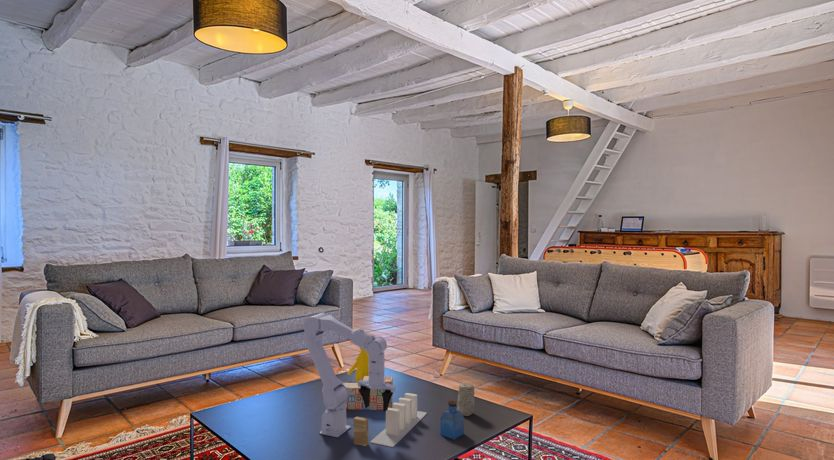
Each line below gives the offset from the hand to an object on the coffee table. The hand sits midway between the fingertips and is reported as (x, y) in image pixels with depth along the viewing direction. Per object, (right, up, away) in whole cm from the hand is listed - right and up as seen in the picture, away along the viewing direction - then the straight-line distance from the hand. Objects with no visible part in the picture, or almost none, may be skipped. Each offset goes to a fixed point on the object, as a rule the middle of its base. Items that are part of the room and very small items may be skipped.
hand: (376, 408), depth 174 cm
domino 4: (+12, -10, +17) cm, 23 cm away
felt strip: (+9, -10, +8) cm, 15 cm away
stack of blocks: (-6, -10, +27) cm, 30 cm away
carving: (+35, -10, +21) cm, 42 cm away
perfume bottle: (+28, -10, +2) cm, 30 cm away
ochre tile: (-5, -10, -6) cm, 13 cm away
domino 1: (+6, -10, +1) cm, 12 cm away
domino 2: (+8, -10, +7) cm, 14 cm away
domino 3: (+10, -10, +12) cm, 18 cm away
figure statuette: (-11, -9, +59) cm, 60 cm away
